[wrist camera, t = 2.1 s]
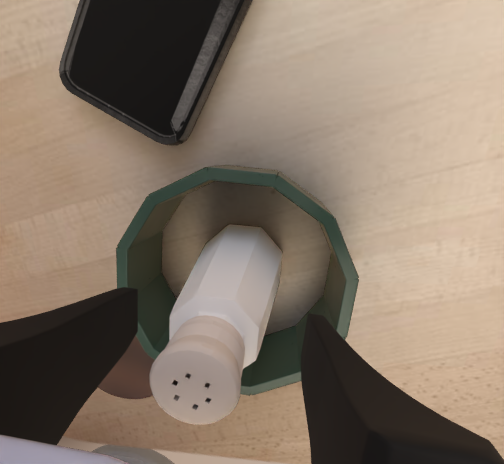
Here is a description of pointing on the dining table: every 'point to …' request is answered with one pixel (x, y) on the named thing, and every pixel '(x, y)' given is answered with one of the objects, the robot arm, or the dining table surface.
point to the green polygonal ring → (162, 299)
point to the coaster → (130, 374)
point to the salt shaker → (217, 325)
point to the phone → (150, 59)
